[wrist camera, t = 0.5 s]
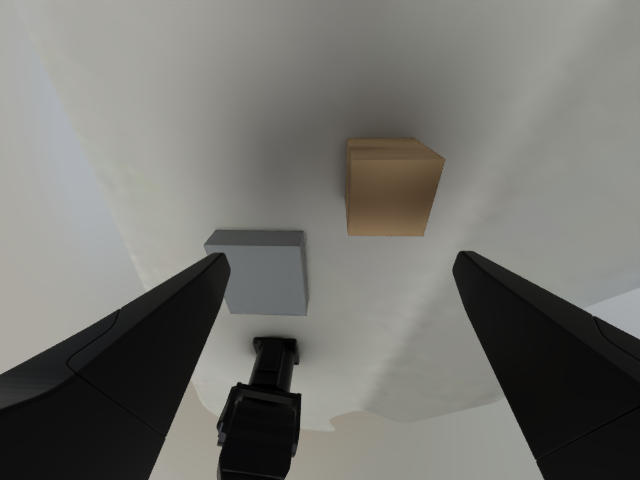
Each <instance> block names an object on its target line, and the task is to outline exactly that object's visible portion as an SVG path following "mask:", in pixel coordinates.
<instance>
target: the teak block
mask: <svg viewBox="0 0 640 480" xmlns="http://www.w3.org/2000/svg"><path fill="white" fill-rule="evenodd" d="M444 162H445V159H444V158H443V157H441V156H440V155H438V154H437V153H435V152H434V151H432V150H431V149H430V148H428V147H427V146H425V145H424V144H422V143H421V142H419V141H418V140H416V139H415V138H361V139H348V141H347V164H346V187H345V205H346V217H347V229H348V235H358V236H424V232H425V229H426V225H427V222H428V218H429V215H430V211H431V208H432V204H433V201H434V197H435V194H436V190H437V187H438V183H439V180H440V176H441V173H442V169H443V166H444Z"/></svg>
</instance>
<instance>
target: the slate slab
mask: <svg viewBox="0 0 640 480" xmlns="http://www.w3.org/2000/svg"><path fill="white" fill-rule="evenodd" d="M204 248H205V250H206V253H207V255H210V254H212V253H214V252H223V253H225V254H226V257H227V259H228V262H229V265H230V268H231V274H230V277H229V281H228V284H227V287H226V291H225V294H224V298H225V301H226V303H227V306H228V308H229V311H230V313H231V314H259V315H289V316H306V315H307V307H308V299H309V297H308V285H307V272H306V259H305V247H304V234H303V231H246V230H216V231H215V232H214V233H213V234H212V235H211V237H210V238H209V239H208V240H207V242H206V243H205V244H204Z"/></svg>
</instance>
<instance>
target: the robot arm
mask: <svg viewBox="0 0 640 480" xmlns="http://www.w3.org/2000/svg"><path fill="white" fill-rule="evenodd" d="M452 271H453V276H454V279H455V282H456V285H457V288H458V291H459V294H460V297H461V300H462V303H463V305H464V308H465V311H466V313H467V315H468V317H469V320H470V322H471V324H472V326H473V328H474V330H475V332H476V334H477V337H478V339H479V341H480V343H481V345H482V347H483V349H484V351H485V354H486V356H487V358H488V360H489V362H490V364H491V366H492V369H493V371H494V373H495V375H496V377H497V379H498V381H499V383H500V386H501V388H502V390H503V392H504V394H505V396H506V398H507V400H508V403H509V405H510V407H511V409H512V411H513V413H514V415H515V417H516V420H517V422H518V424H519V426H520V428H521V430H522V433H523V435H524V437H525V439H526V441H527V443H528V445H529V447H530V450H531V452H532V454H533V456H534V458H535V459H536V460H537V461H536V463H537V465H538V467H539V469H540V471H541V473H542V476H543V478H544V480H640V339H638V338H636V337H634V336H632V335H630V334H628V333H626V332H624V331H622V330H620V329H618V328H616V327H614V326H613V325H611V324H609V323H607V322H605V321H603V320H601V319H600V318H598V317H596V316H592V315H591V314H590V313H588V312H586V311H584V310H583V309H581V308H579V307H577V306H575V305H573V304H571V303H569V302H568V301H566V300H564V299H562V298H560V297H558V296H556V295H554V294H553V293H551V292H549V291H547V290H545V289H543V288H541V287H539V286H538V285H536V284H534V283H532V282H530V281H528V280H526V279H524V278H522V277H521V276H519V275H517V274H515V273H513V272H511V271H509V270H507V269H506V268H504V267H502V266H500V265H498V264H496V263H494V262H492V261H491V260H489V259H487V258H485V257H483V256H481V255H479V254H477V253H476V252H474V251H460V252H459V253H458V255H457V258H456V260H455V263H454V265H453V269H452ZM230 274H231V268H230V265H229V262H228V259H227V257H226V254H225V253H223V252H214V253H212V254H210V255H208V256H207V257H205V258H203V259H202V260H200V261H198V262H197V263H195V264H193V265H192V266H190V267H188V268H187V269H185V270H183V271H182V272H180V273H178V274H177V275H175V276H173V277H172V278H170V279H168V280H167V281H165V282H163V283H162V284H160V285H158V286H157V287H155V288H153V289H152V290H150V291H148V292H147V293H145V294H143V295H142V296H140V297H138V298H137V299H135V300H133V301H132V302H130V303H128V304H127V305H125V306H123V307H122V308H121V309H118V310H116V311H115V312H113V313H111V314H110V315H108V316H107V317H105V318H103V319H101V320H100V321H98V322H96V323H94V324H93V325H91V326H89V327H87V328H86V329H84V330H82V331H80V332H79V333H77V334H75V335H73V336H71V337H69V338H68V339H66V340H64V341H62V342H60V343H58V344H56V345H55V346H53V347H51V348H49V349H47V350H45V351H44V352H42V353H40V354H38V355H36V356H34V357H32V358H30V359H29V360H27V361H25V362H23V363H21V364H19V365H18V366H16V367H14V368H12V369H10V370H8V371H6V372H4V373H2V374H1V375H0V480H148V479H149V477H150V474H151V472H152V469H153V467H154V465H155V463H156V460H157V458H158V455H159V453H160V450H161V448H162V446H163V443H164V441H165V437H166V436H167V433H168V431H169V429H170V426H171V424H172V422H173V419H174V417H175V414H176V412H177V409H178V407H179V405H180V402H181V400H182V398H183V395H184V393H185V391H186V388H187V386H188V383H189V381H190V379H191V376H192V374H193V372H194V369H195V367H196V364H197V362H198V360H199V357H200V355H201V353H202V350H203V348H204V345H205V343H206V341H207V338H208V336H209V334H210V331H211V329H212V326H213V324H214V322H215V319H216V317H217V314H218V312H219V310H220V307H221V304H222V301H223V298H224V294H225V291H226V287H227V284H228V281H229V277H230ZM253 345H254V348H255V350H256V353H257V356H256V360H255V363H254V367H253V370H252V374H251V377H250V380H249V384H248V385H247V384H242V383H241V382H238V383H237V386H234V387H231V390H230V393H229V396H228V399H227V402H226V404H225V406H224V409H223V411H222V413H221V416H220V418H219V421H218V423H217V430H218V432H219V434H218V438H219V439H218V443H217V446H221V447H222V450H221V453H220V457H219V463H218V468H217V480H284V479H285V477H286V475H287V473H288V471H289V469H290V464H291V457H294V456H295V454H296V450H297V445H298V440H299V431H300V415H301V394H300V393H297V394H296V393H290V386H291V380H292V373H293V366H294V365H298V364H299V355H298V348H297V342H296V340H291V339H267V338H254V339H253Z"/></svg>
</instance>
